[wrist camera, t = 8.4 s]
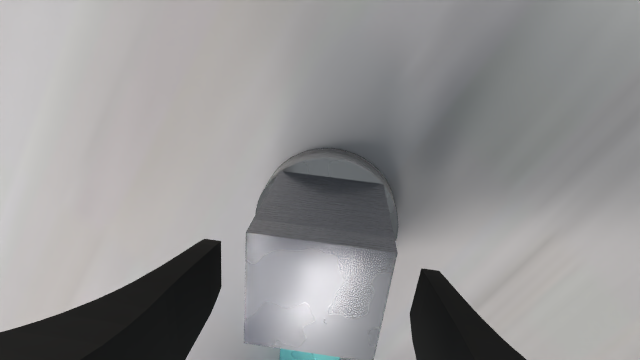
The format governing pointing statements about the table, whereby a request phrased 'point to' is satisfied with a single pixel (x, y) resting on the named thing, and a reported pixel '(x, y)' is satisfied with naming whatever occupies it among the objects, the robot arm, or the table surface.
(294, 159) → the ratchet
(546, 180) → the table surface
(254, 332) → the socket
